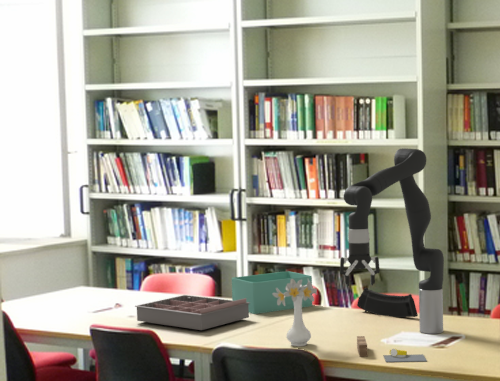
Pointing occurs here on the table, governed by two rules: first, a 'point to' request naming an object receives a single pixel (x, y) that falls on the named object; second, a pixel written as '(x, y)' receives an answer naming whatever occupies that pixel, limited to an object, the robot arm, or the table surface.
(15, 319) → the table surface
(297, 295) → the flower vase
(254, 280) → the box
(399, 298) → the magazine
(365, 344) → the walnut slat
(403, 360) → the felt mat
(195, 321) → the organizer tray
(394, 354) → the watch
